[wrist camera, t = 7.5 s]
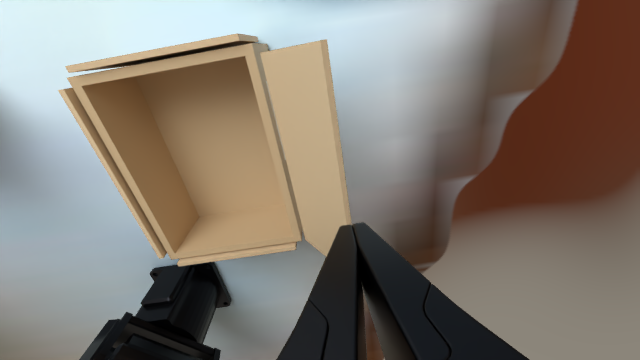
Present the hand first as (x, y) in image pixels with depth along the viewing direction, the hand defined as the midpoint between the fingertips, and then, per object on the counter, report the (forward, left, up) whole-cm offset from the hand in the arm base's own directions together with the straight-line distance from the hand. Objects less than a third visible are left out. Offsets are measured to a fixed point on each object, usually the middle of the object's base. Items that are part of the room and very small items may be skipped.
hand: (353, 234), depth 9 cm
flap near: (0, +2, -5) cm, 6 cm away
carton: (0, +8, -13) cm, 15 cm away
